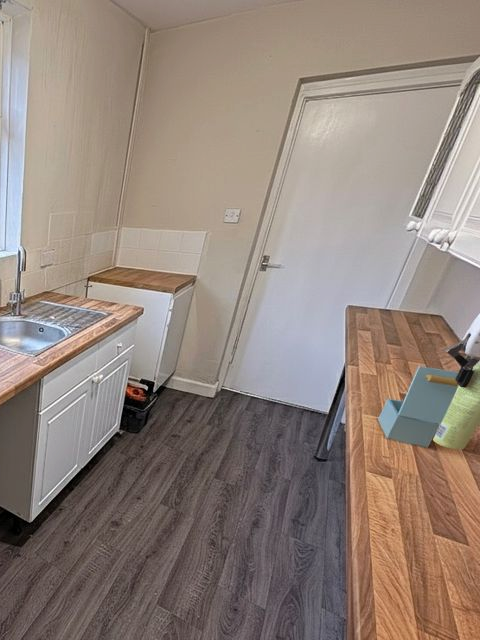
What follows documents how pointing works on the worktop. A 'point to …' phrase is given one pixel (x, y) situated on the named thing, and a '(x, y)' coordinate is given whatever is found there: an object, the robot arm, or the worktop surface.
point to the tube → (461, 415)
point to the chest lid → (429, 394)
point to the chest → (405, 426)
